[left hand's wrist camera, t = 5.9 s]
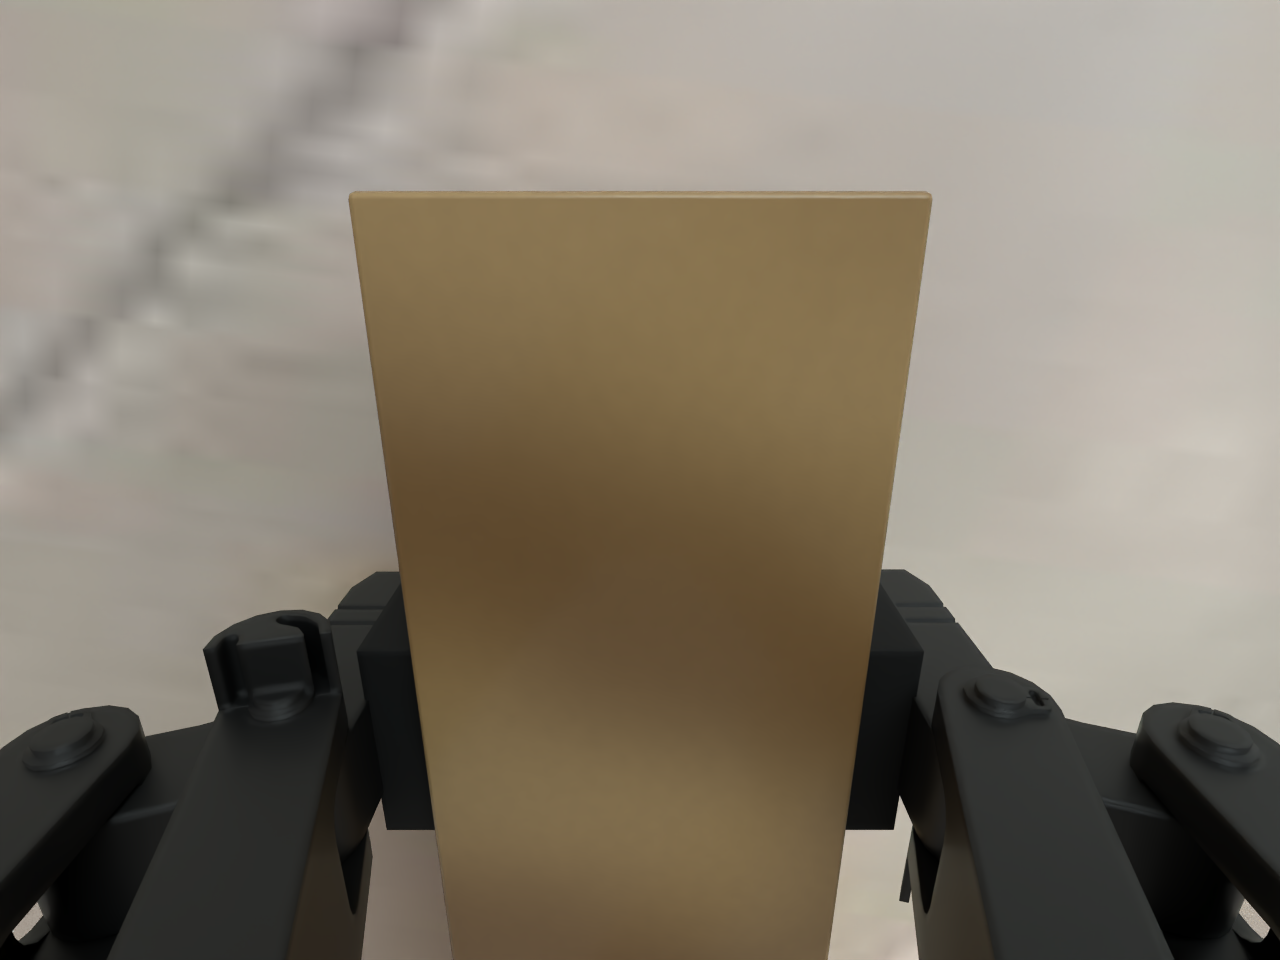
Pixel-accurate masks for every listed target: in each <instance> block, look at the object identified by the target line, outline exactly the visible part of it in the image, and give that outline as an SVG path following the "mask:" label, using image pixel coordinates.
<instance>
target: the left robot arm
mask: <svg viewBox="0 0 1280 960" xmlns="http://www.w3.org/2000/svg"><path fill="white" fill-rule="evenodd" d="M203 652H204V656H205V660H206V663H207V667H208V671H209V675H210V679H211V682H212V686H213V690H214V694H215V698H216V701H217V705H218V709H219V712H218V714H217V716H216V718H215V720H214V722H210V723H207V724H203V725H199V726H194V727H190V728H185V729H180V730H175V731H170V732H165V733H160V734H155V735H151V736H146V737H145V735H144V731H143V728H142V725H141V722H140V719H139V716H138V715H136V714H135V713H134V712H133V711H131V710H130V709H129V708H124V707H117V706H110V705H108V706H100V707H92V708H84V709H79V710H75V711H71V713H64V714H61V715H58V716H56V717H53V718H51V719H50V720H48V721H46V722H44V723H42V724H40V725H38V726H35V727H33V728H31V729H29V730H27V731H26V732H24V733H23V734H21V735H20V736H19V737H17V738H16V739H14V740H13V741H11V742H10V743H8V744H7V745H6V746H4V747H3V748H2V749H1V750H0V960H361V957H362V948H363V939H364V930H365V921H366V912H367V903H368V894H369V885H370V876H371V867H372V858H373V856H372V849H371V842H370V837H369V831H368V826H369V824H370V822H371V820H372V817H373V815H374V813H375V811H376V808H377V806H378V804H379V801H380V799H381V798H382V804H383V810H384V816H385V822H386V828H387V830H435V826H434V819H433V811H432V804H431V797H430V789H429V782H428V775H427V768H426V760H425V753H424V746H423V738H422V731H421V724H420V717H419V709H418V702H417V695H416V687H415V680H414V673H413V666H412V658H411V651H410V644H409V636H408V629H407V622H406V615H405V607H404V600H403V593H402V585H401V578H400V572H375V573H374V574H372V575H371V576H369V577H368V578H366V579H364V580H363V581H361V582H360V583H358V584H357V585H355V586H354V587H352V588H351V589H350V591H349V592H348V593H347V595H346V596H345V597H344V599H343V600H342V601H341V602H340V604H339V605H338V610H334V612H333V613H332V614H331V616H330V617H329V618H328V619H326V618H325V617H323V616H322V615H321V614H319V613H315V612H310V611H305V610H282V611H276V612H271V613H267V614H262V615H257V616H254V617H252V618H249V619H247V620H244V621H241V622H239V623H236V624H234V625H232V626H230V627H229V628H227V629H226V630H224V631H222V632H221V633H219V634H217V635H216V636H214V638H213V639H212V640H211V641H210V642H209V643H208V644H207V645H206V646H205V648H204V649H203ZM899 796H900V797H901V799H902V801H903V804H904V806H905V808H906V810H907V813H908V815H909V817H910V819H911V822H912V824H913V826H912V831H911V837H910V842H909V848H908V853H907V859H906V864H905V869H904V875H903V880H902V886H901V892H900V899H899V901H903V902H907V903H909V898H910V893H911V892H912V901H913V910H914V919H915V928H916V937H917V946H918V955H919V960H1280V745H1279V744H1278V743H1277V742H1275V741H1274V740H1272V739H1271V738H1269V737H1268V736H1267V735H1265V734H1264V733H1262V732H1261V731H1259V730H1258V729H1256V728H1255V727H1253V726H1251V725H1249V724H1247V723H1244V722H1242V721H1240V720H1238V719H1236V718H1234V717H1232V716H1231V715H1229V714H1227V713H1224V712H1221V711H1218V710H1211V708H1207V707H1203V706H1199V705H1190V704H1182V703H1174V702H1172V703H1165V704H1157V705H1153V706H1152V707H1150V708H1149V709H1148V710H1146V711H1145V712H1144V713H1143V715H1142V718H1141V721H1140V724H1139V727H1138V730H1137V734H1135V733H1130V732H1125V731H1120V730H1116V729H1111V728H1106V727H1101V726H1096V725H1091V724H1086V723H1082V722H1078V721H1074V720H1070V719H1067V718H1065V717H1064V715H1063V713H1062V710H1061V709H1060V707H1059V706H1058V705H1057V703H1056V702H1055V701H1054V700H1053V698H1052V697H1051V696H1050V695H1049V694H1048V693H1046V692H1045V691H1044V690H1042V689H1041V688H1040V687H1038V686H1037V685H1035V684H1034V683H1033V682H1031V681H1028V680H1026V679H1024V678H1022V677H1019V676H1017V675H1015V674H1013V673H1010V672H1006V671H1002V670H998V669H994V668H992V666H991V665H990V664H989V662H988V661H987V660H986V658H985V657H984V656H983V655H982V653H981V652H980V651H979V649H978V648H977V647H976V645H975V644H974V643H973V642H972V640H971V639H970V638H969V636H968V635H967V634H966V632H965V631H964V630H963V629H962V627H961V626H960V625H959V623H955V618H954V617H953V616H952V614H951V613H950V612H949V610H948V609H947V608H946V607H943V603H942V601H941V600H940V599H939V597H938V596H937V595H936V594H935V592H934V591H933V590H932V588H931V587H930V586H929V585H928V584H926V583H925V582H923V581H922V580H920V579H918V578H917V577H915V576H914V575H912V574H911V573H909V572H907V571H906V570H881V575H880V583H879V590H878V597H877V604H876V612H875V619H874V626H873V633H872V641H871V648H870V655H869V662H868V670H867V677H866V684H865V691H864V699H863V706H862V713H861V720H860V728H859V735H858V742H857V749H856V757H855V764H854V771H853V778H852V786H851V793H850V800H849V807H848V815H847V822H846V829H845V830H894V825H895V819H896V813H897V807H898V801H899ZM1244 899H1246V900H1247V901H1248V902H1249V904H1250V905H1251V906H1252V907H1253V908H1254V909H1255V910H1256V912H1257V913H1258V914H1259V915H1260V916H1261V917H1262V919H1263V920H1264V921H1265V922H1266V923H1267V924H1268V926H1269V927H1270V930H1269V932H1268V934H1267V936H1266V937H1265V938H1264V939H1263V938H1261V937H1260V936H1259V935H1258V934H1257V933H1256V932H1255V931H1254V930H1253V929H1252V928H1251V927H1250V926H1249V925H1248V924H1247V922H1246V921H1245V920H1244V919H1243V918H1242V916H1241V915H1240V914H1239V911H1240V908H1241V906H1242V904H1243V901H1244ZM37 902H38V904H39V907H40V909H41V911H42V914H43V916H42V918H41V919H40V920H39V921H38V922H37V924H36V925H35V926H34V927H33V928H32V930H31V931H29V932H28V933H27V934H26V935H25V936H24V937H23V938H21V939H20V940H19V941H18V940H17V939H15V937H14V935H13V933H12V931H13V929H14V928H15V927H16V926H17V925H18V924H19V922H20V921H21V920H22V919H23V918H24V917H25V915H26V914H27V913H28V912H29V911H30V910H31V908H32V907H33V906H34V905H35V904H36V903H37Z"/></svg>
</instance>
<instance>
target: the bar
mask: <svg viewBox="0 0 1280 960" xmlns="http://www.w3.org/2000/svg"><path fill="white" fill-rule="evenodd" d="M931 206H932V195H931V194H930V193H928V192H926V191H355V192H353V193H351V194H350V195H349V207H350V214H351V221H352V228H353V236H354V243H355V250H356V258H357V265H358V272H359V279H360V287H361V294H362V301H363V309H364V316H365V323H366V330H367V338H368V345H369V352H370V360H371V367H372V374H373V381H374V389H375V396H376V403H377V411H378V418H379V425H380V432H381V440H382V447H383V454H384V462H385V469H386V476H387V483H388V491H389V498H390V505H391V513H392V520H393V527H394V534H395V542H396V549H397V556H398V564H399V571H400V578H401V585H402V593H403V600H404V607H405V615H406V622H407V629H408V636H409V644H410V651H411V658H412V666H413V673H414V680H415V687H416V695H417V702H418V709H419V717H420V724H421V731H422V738H423V746H424V753H425V760H426V768H427V775H428V782H429V789H430V797H431V804H432V811H433V819H434V826H435V833H436V840H437V848H438V855H439V862H440V870H441V877H442V884H443V891H444V899H445V906H446V913H447V921H448V928H449V935H450V942H451V950H452V957H453V960H827V959H828V952H829V945H830V938H831V930H832V923H833V916H834V909H835V901H836V894H837V887H838V880H839V872H840V865H841V858H842V851H843V844H844V836H845V829H846V822H847V815H848V807H849V800H850V793H851V786H852V778H853V771H854V764H855V757H856V749H857V742H858V735H859V728H860V720H861V713H862V706H863V699H864V691H865V684H866V677H867V670H868V662H869V655H870V648H871V641H872V633H873V626H874V619H875V612H876V604H877V597H878V590H879V583H880V575H881V568H882V561H883V554H884V546H885V539H886V532H887V525H888V518H889V510H890V503H891V496H892V489H893V481H894V474H895V467H896V460H897V452H898V445H899V438H900V431H901V423H902V416H903V409H904V402H905V394H906V387H907V380H908V373H909V365H910V358H911V351H912V344H913V336H914V329H915V322H916V315H917V307H918V300H919V293H920V286H921V278H922V271H923V264H924V257H925V249H926V242H927V235H928V228H929V220H930V213H931Z"/></svg>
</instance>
